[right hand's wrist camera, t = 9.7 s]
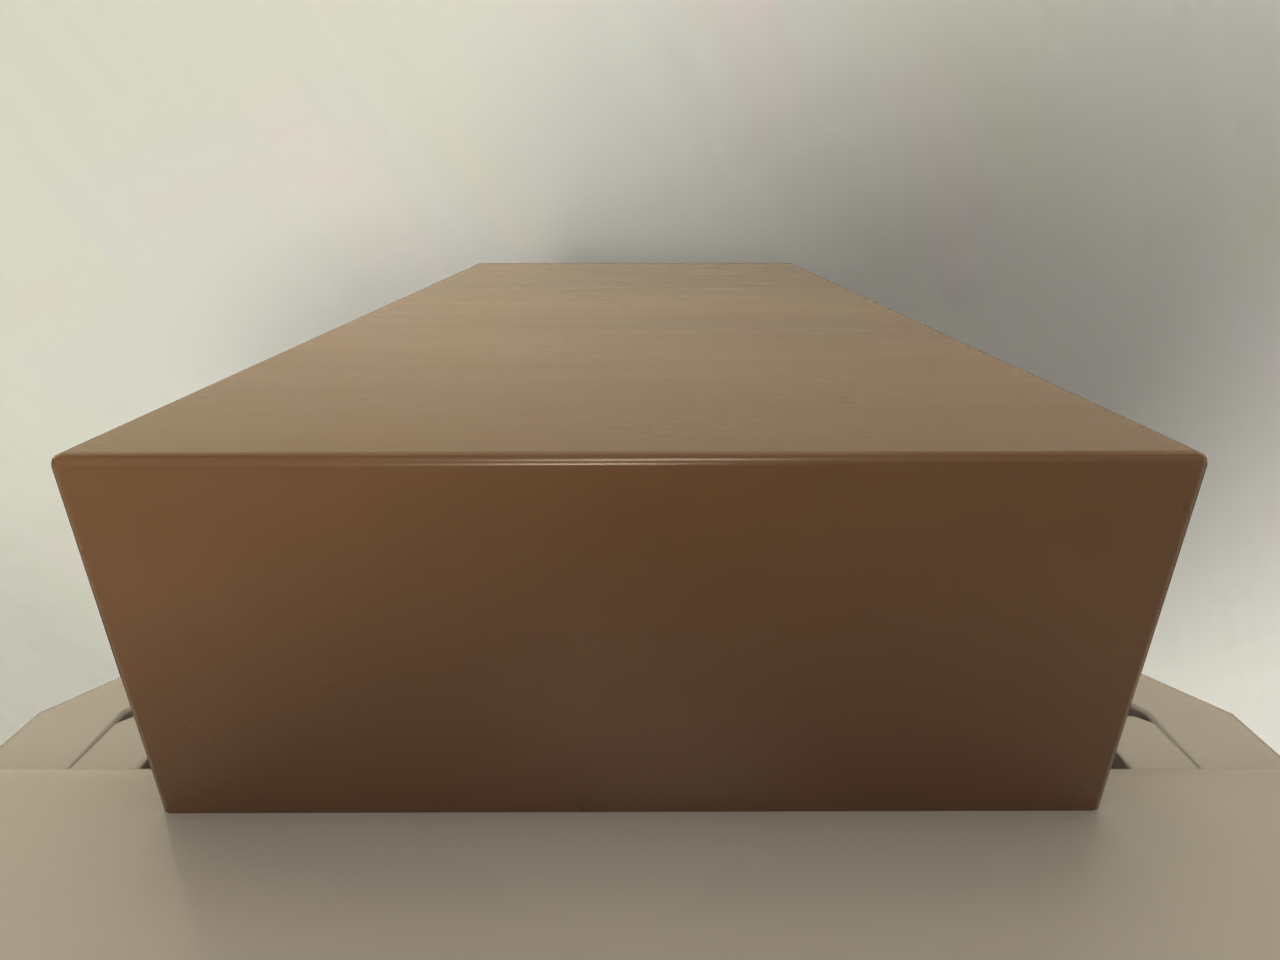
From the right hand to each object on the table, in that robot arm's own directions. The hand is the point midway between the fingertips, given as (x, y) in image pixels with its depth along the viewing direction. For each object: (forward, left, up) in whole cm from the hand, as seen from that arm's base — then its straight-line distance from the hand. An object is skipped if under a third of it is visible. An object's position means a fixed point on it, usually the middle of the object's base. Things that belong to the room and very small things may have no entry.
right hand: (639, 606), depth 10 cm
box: (+2, +9, -6) cm, 11 cm away
